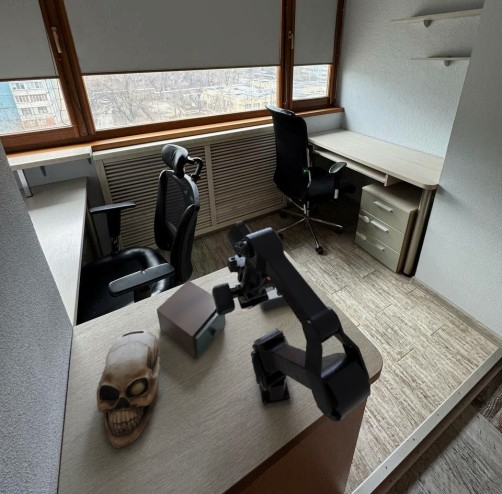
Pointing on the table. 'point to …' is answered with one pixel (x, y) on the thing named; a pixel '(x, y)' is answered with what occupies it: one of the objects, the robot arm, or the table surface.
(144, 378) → the coin bank
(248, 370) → the table surface
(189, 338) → the cabinet
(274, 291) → the calculator
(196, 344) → the drawer
